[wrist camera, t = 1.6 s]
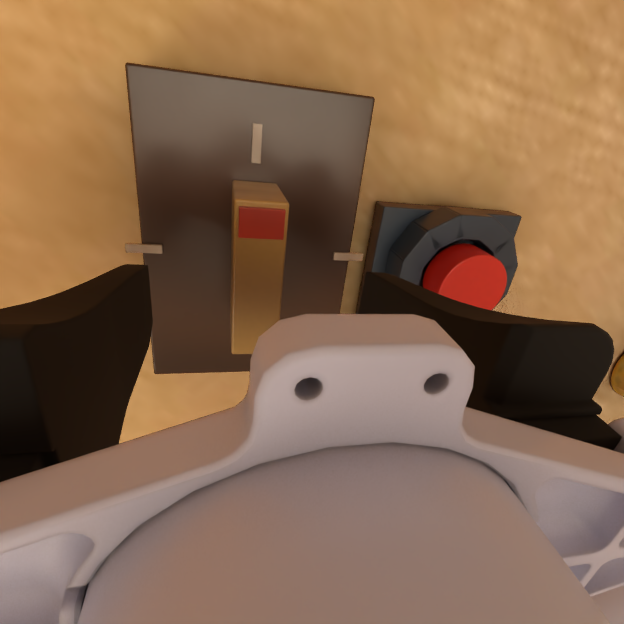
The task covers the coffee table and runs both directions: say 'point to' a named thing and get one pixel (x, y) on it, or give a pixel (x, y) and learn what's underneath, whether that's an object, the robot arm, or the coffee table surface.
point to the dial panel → (218, 198)
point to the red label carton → (256, 261)
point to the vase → (618, 377)
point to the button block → (435, 238)
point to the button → (467, 276)
